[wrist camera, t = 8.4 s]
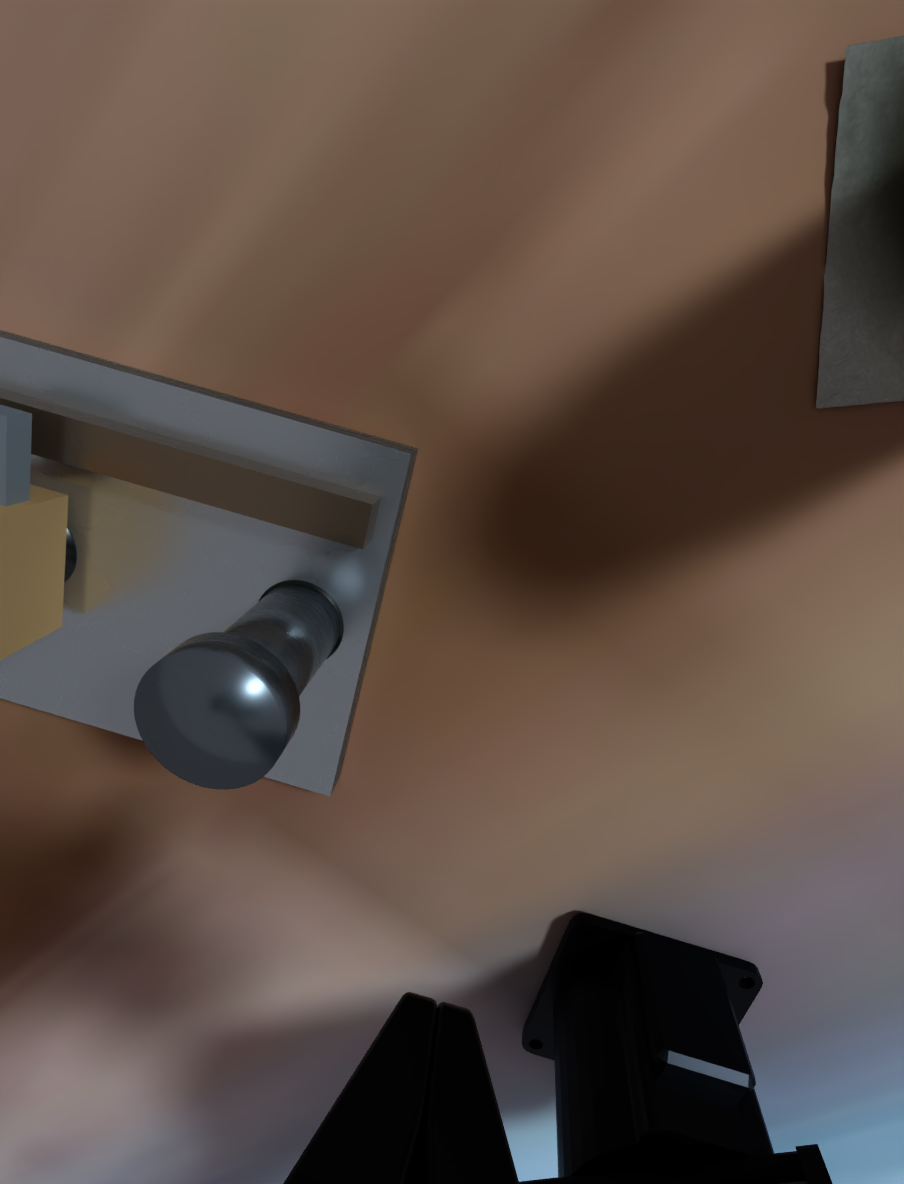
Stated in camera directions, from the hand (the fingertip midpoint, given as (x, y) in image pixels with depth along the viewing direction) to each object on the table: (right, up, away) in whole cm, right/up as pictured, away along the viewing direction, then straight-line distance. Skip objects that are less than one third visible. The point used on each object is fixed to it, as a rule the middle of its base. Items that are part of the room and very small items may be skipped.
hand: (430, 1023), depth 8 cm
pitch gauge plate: (-10, +6, +12) cm, 16 cm away
